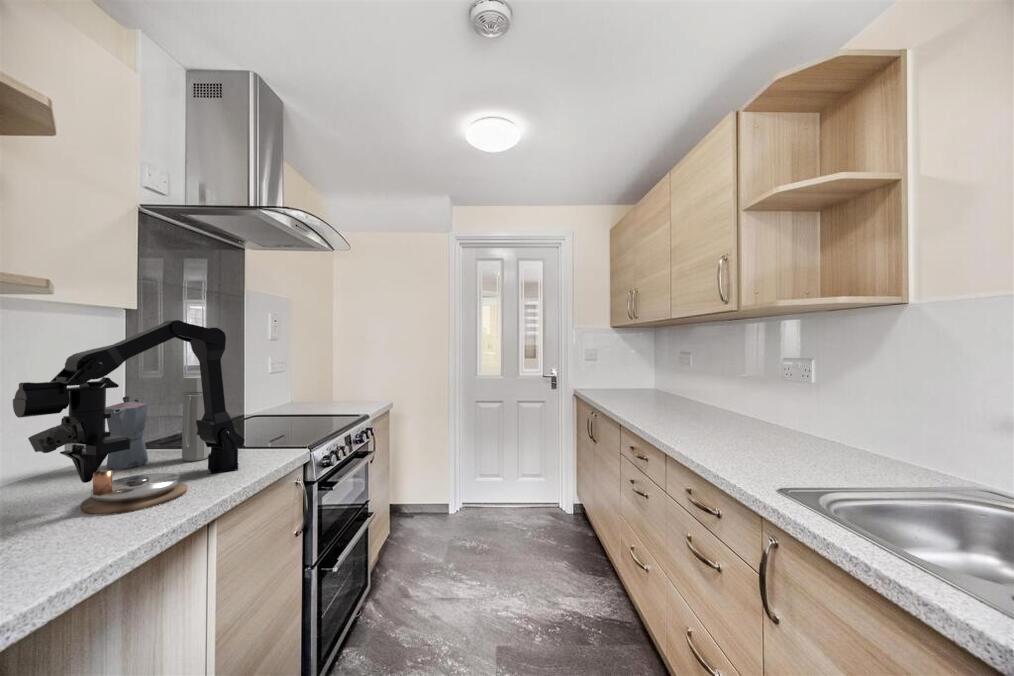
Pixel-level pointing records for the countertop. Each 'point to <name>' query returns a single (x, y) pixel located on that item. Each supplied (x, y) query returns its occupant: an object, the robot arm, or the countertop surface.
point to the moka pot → (128, 433)
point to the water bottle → (192, 420)
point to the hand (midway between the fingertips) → (86, 482)
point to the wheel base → (132, 502)
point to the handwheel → (130, 486)
